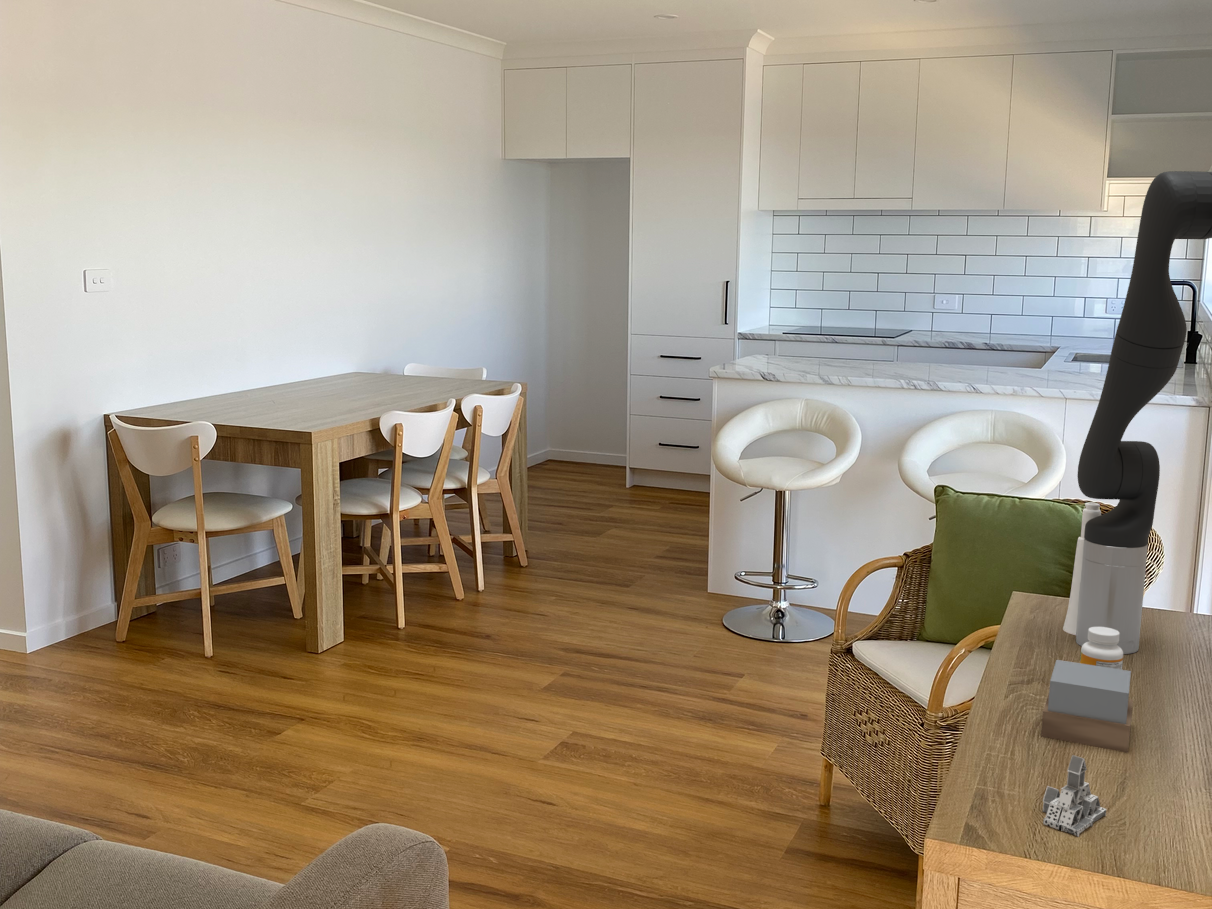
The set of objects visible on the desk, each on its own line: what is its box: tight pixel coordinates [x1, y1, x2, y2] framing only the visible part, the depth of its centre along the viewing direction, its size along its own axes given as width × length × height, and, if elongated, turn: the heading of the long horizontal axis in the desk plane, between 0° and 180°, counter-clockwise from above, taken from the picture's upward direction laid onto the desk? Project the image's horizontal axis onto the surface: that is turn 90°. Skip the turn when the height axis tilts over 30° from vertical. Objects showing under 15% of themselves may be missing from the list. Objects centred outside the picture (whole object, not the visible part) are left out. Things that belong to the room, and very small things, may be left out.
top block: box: [1048, 659, 1132, 724], centre depth 141 cm, size 9×9×4 cm
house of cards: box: [1042, 754, 1107, 837], centre depth 119 cm, size 9×9×8 cm
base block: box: [1040, 693, 1134, 753], centre depth 141 cm, size 10×10×4 cm
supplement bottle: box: [1079, 627, 1124, 670], centre depth 153 cm, size 5×5×10 cm
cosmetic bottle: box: [1062, 502, 1102, 636], centre depth 182 cm, size 6×6×22 cm
